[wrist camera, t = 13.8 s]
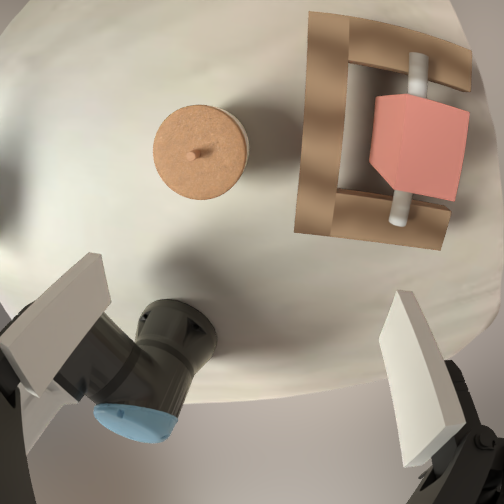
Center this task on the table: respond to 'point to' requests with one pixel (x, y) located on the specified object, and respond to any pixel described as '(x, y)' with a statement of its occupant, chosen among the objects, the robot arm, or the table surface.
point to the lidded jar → (200, 151)
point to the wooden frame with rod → (332, 125)
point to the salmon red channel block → (419, 144)
